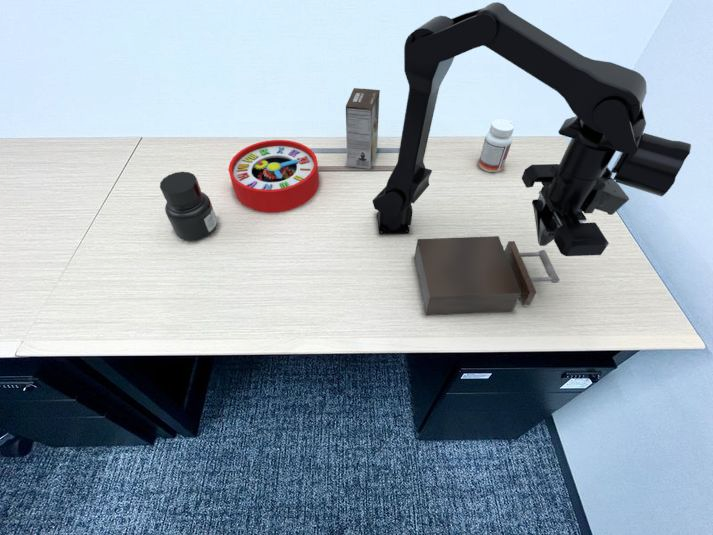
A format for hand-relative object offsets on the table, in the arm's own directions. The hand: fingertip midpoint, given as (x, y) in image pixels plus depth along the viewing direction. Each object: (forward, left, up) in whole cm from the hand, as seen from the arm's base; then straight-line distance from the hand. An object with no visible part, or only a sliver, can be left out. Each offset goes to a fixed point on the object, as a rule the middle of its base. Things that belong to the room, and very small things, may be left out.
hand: (541, 244), depth 68 cm
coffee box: (-28, +42, -10) cm, 52 cm away
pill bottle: (+4, +37, -10) cm, 39 cm away
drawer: (-6, 0, -9) cm, 11 cm away
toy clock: (-49, +32, -10) cm, 59 cm away
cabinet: (-12, 0, -10) cm, 16 cm away
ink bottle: (-65, +18, -10) cm, 68 cm away
